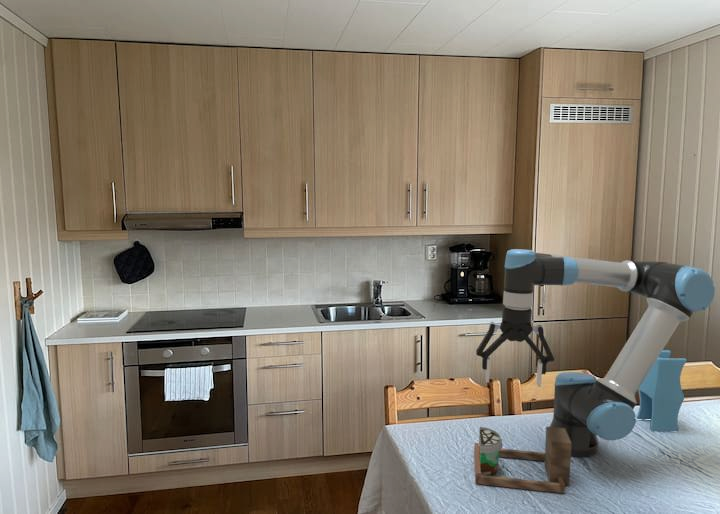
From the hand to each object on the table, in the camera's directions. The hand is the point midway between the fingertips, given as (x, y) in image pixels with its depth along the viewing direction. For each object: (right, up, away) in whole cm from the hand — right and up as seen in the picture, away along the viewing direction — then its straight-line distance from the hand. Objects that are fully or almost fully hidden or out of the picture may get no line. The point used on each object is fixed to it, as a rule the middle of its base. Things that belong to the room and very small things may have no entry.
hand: (512, 383), depth 140 cm
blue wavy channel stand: (+60, -23, +35) cm, 73 cm away
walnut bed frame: (+3, -26, +5) cm, 27 cm away
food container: (-5, -27, +6) cm, 28 cm away
